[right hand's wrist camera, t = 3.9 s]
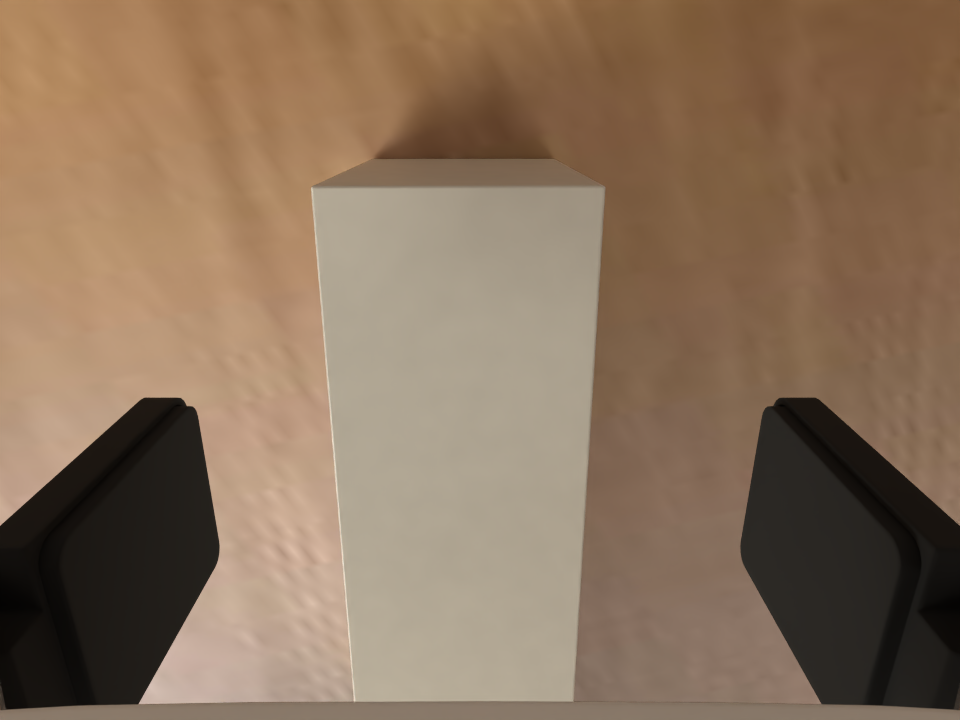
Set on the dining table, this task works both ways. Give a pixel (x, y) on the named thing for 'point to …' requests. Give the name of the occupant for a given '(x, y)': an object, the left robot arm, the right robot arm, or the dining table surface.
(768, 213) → the dining table surface
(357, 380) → the bar
